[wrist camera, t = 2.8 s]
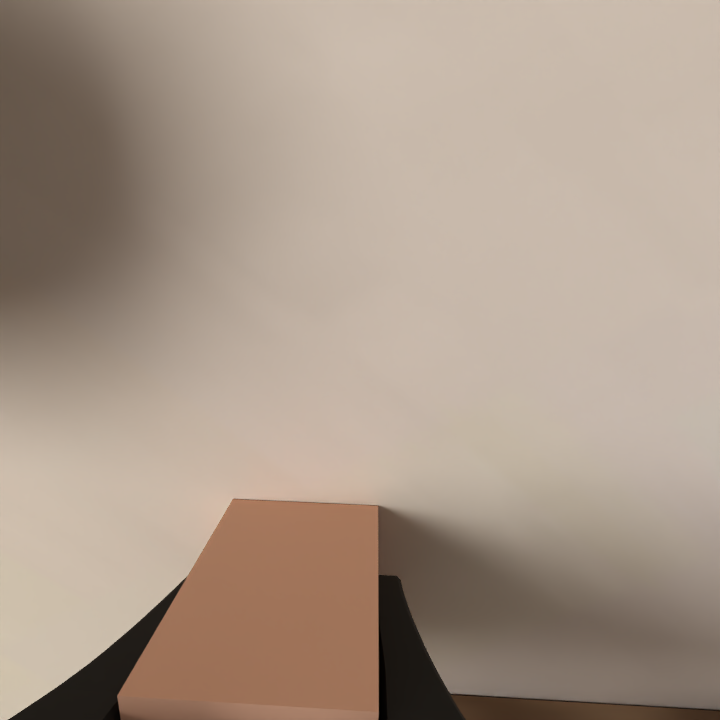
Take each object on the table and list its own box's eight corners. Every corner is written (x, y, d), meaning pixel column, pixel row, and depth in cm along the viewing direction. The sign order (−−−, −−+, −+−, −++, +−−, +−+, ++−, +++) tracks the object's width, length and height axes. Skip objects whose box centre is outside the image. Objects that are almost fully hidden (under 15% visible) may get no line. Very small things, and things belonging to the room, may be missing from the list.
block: (378, 505, 13) (378, 712, 7) (373, 625, 14) (370, 888, 8) (232, 499, 13) (117, 695, 7) (239, 617, 14) (143, 871, 8)
